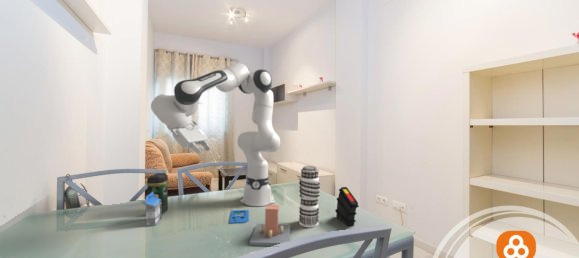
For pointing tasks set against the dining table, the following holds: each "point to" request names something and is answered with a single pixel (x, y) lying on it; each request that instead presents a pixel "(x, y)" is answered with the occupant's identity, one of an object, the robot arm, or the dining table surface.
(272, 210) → the salmon pink block
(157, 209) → the label tape box
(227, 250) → the dining table surface
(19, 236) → the dining table surface
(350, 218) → the black ribbed casing
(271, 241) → the plate
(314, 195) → the decorative candle
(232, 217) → the handheld gaming device
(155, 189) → the coffee jar
